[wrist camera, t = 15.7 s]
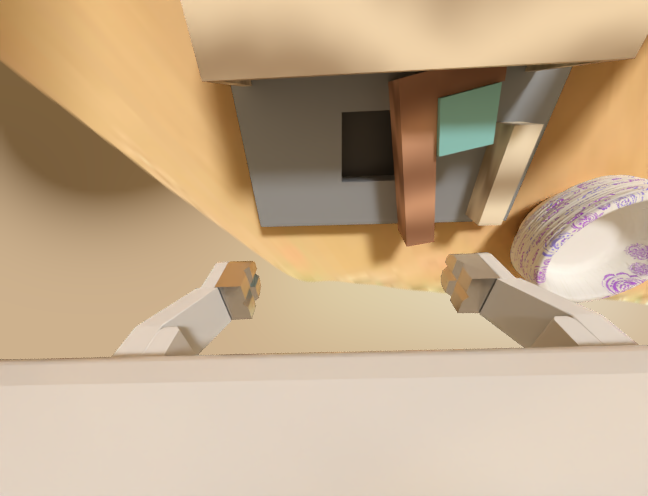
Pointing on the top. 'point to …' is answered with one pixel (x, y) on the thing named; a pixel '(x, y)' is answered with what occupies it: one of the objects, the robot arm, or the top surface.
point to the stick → (501, 171)
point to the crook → (423, 141)
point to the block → (467, 119)
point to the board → (359, 146)
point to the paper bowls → (587, 239)
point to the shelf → (406, 35)
